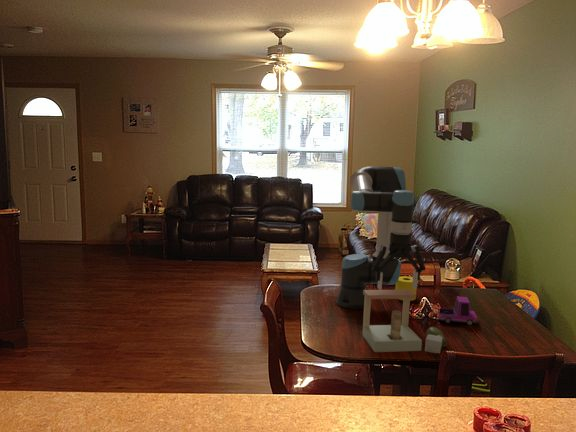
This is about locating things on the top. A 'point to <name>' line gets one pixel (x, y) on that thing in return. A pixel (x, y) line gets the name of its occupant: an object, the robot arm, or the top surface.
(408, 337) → the socket board
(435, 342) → the small box
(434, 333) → the pear
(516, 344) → the top surface
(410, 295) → the beige arch frame
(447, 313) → the toy truck
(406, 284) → the tape roll
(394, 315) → the peg
